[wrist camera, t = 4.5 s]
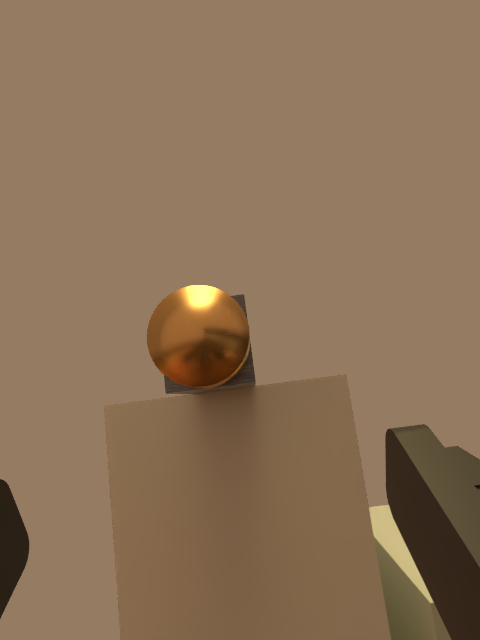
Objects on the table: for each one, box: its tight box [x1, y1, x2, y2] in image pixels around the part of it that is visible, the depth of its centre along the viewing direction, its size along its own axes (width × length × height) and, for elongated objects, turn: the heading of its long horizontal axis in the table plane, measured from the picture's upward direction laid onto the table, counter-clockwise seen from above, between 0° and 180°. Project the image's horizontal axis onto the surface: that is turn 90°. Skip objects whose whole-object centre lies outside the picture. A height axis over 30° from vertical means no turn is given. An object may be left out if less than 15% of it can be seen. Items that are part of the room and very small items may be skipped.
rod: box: [147, 285, 255, 394], centre depth 24 cm, size 3×24×3 cm, turn 178°
